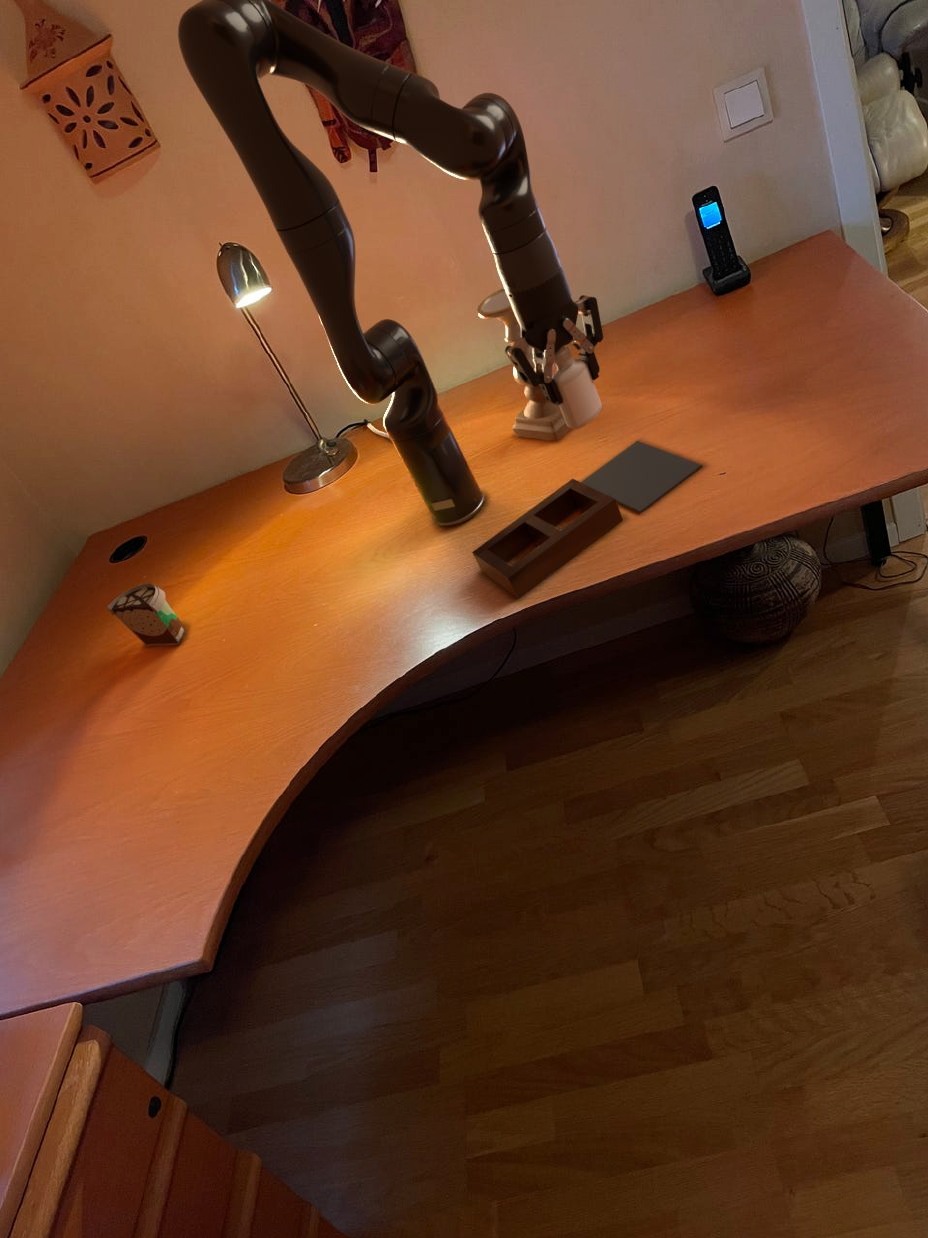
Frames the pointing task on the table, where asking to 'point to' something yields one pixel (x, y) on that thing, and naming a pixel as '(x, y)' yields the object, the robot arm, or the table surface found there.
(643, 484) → the mat
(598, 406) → the eye dropper bottle
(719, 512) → the table surface
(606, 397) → the table surface
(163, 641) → the food container
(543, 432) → the candle holder
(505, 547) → the rack
